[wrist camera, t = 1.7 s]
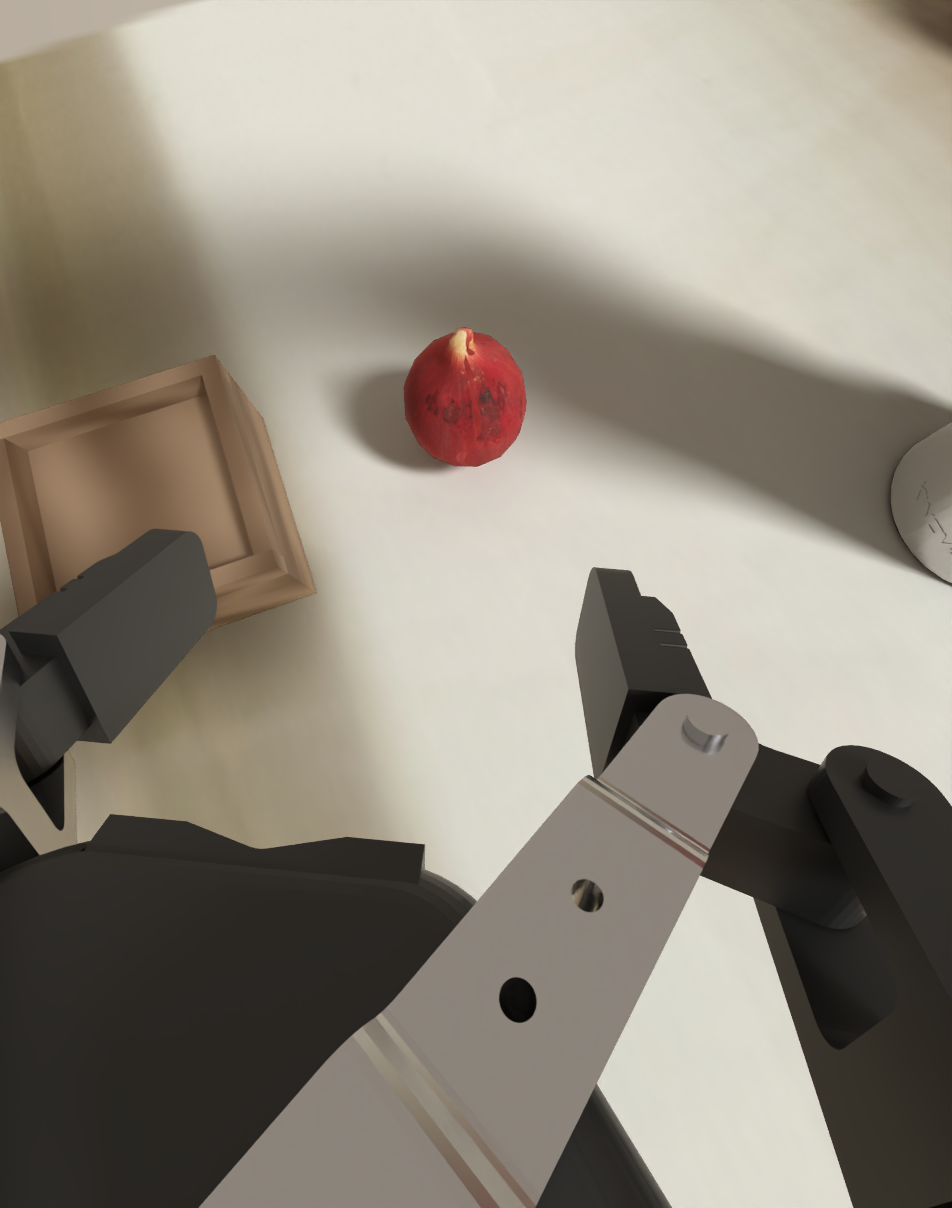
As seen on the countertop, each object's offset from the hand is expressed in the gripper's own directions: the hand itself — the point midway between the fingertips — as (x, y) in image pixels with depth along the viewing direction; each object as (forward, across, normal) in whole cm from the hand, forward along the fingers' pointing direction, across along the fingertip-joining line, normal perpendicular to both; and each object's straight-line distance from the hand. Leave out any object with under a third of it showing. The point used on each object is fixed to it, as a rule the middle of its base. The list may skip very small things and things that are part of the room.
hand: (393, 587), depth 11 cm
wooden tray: (+15, +14, +7) cm, 21 cm away
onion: (+19, 0, +2) cm, 19 cm away
